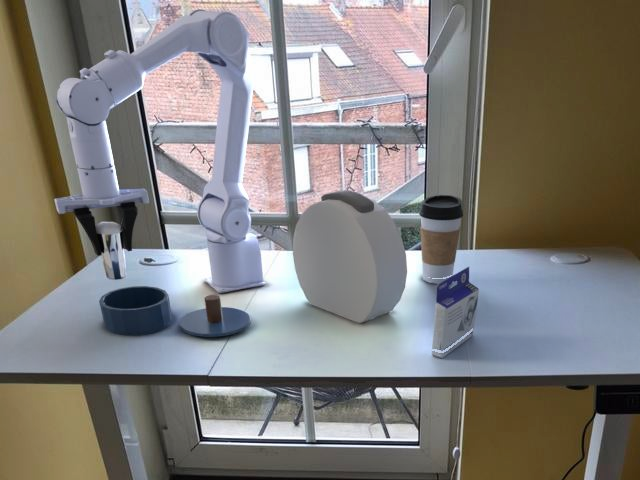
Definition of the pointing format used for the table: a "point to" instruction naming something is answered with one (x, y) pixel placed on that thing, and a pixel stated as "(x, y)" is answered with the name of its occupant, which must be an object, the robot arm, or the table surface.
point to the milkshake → (112, 249)
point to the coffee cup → (439, 235)
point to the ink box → (454, 312)
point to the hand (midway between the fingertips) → (113, 251)
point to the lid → (214, 319)
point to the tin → (136, 310)
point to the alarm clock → (349, 256)
